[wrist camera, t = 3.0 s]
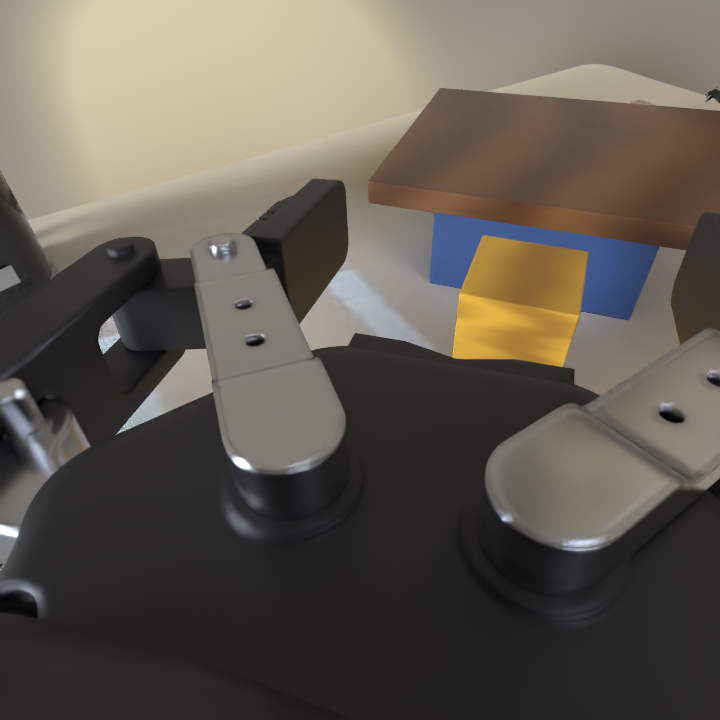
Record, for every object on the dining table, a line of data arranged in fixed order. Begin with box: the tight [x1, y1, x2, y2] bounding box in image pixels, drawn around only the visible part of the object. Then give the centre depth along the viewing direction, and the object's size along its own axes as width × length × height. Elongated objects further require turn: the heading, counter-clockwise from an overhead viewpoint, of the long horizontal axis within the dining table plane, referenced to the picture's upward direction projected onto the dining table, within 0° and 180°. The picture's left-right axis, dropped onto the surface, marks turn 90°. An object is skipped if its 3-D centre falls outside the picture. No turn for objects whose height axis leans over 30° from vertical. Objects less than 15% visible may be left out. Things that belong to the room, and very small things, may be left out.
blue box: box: [430, 213, 659, 320], centre depth 40 cm, size 14×14×7 cm
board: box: [368, 88, 720, 250], centre depth 37 cm, size 22×18×2 cm
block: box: [452, 235, 589, 367], centre depth 27 cm, size 5×5×10 cm
